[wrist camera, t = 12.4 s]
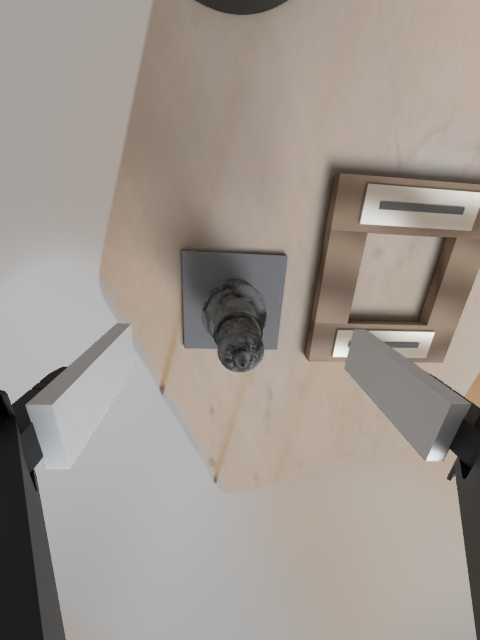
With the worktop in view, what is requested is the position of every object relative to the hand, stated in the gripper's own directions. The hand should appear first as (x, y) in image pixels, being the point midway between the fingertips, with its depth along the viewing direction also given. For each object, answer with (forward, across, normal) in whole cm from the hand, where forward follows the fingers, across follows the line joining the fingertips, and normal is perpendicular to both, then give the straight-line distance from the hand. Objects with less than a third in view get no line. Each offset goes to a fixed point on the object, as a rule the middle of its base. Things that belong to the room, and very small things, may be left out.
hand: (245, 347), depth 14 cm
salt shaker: (+11, 0, -1) cm, 11 cm away
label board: (+11, +16, +2) cm, 20 cm away
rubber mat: (+11, 0, -1) cm, 11 cm away
